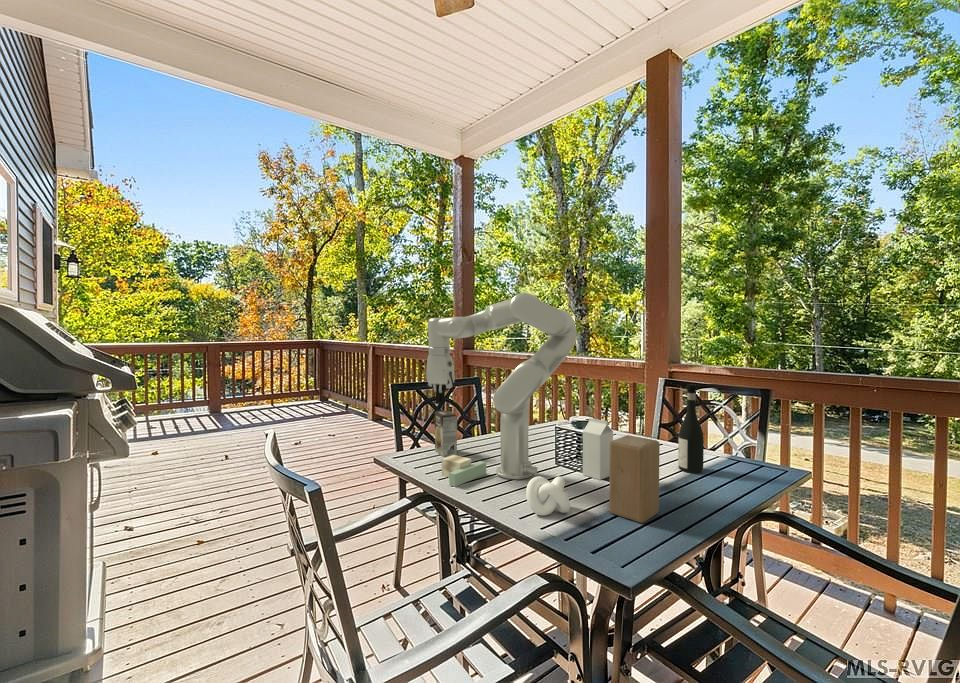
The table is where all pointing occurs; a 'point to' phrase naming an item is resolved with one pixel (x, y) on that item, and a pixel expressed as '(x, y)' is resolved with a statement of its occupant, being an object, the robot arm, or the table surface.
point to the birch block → (454, 464)
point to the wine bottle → (691, 437)
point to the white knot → (547, 496)
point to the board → (467, 473)
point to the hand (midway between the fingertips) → (440, 403)
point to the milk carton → (597, 449)
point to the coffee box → (446, 433)
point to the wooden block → (634, 478)
